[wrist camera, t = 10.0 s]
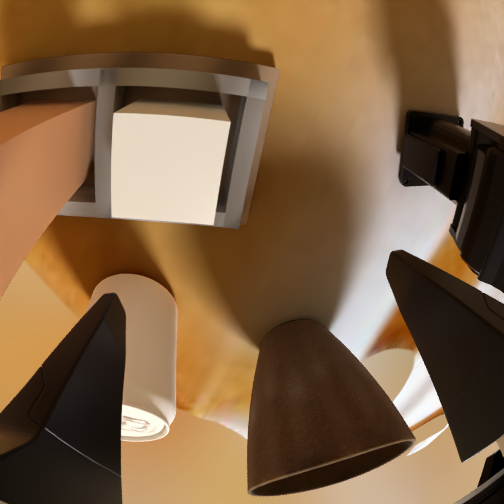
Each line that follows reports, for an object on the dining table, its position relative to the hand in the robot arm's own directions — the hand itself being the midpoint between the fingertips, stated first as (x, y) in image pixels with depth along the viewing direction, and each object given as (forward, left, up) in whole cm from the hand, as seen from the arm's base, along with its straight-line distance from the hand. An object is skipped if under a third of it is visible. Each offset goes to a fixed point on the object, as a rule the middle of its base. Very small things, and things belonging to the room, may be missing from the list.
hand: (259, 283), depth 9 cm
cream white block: (+3, -2, -12) cm, 12 cm away
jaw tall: (+11, -4, -12) cm, 17 cm away
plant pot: (-5, +21, -13) cm, 25 cm away
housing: (+7, -3, -13) cm, 15 cm away
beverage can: (+10, +12, -13) cm, 20 cm away
